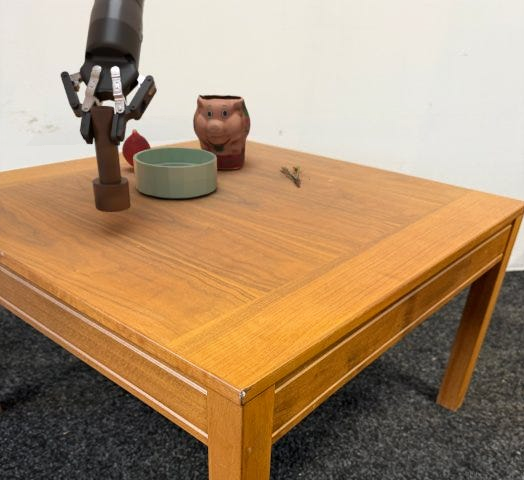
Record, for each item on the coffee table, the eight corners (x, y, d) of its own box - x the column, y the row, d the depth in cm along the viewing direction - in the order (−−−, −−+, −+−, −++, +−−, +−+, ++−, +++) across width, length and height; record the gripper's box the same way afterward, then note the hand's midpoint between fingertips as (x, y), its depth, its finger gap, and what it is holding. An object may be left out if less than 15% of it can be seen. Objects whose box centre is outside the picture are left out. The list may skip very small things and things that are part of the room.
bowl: (133, 201, 97) (130, 167, 94) (138, 177, 110) (136, 146, 107) (219, 200, 99) (219, 167, 96) (214, 177, 112) (214, 147, 109)
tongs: (293, 187, 108) (293, 177, 107) (279, 173, 119) (279, 163, 118) (313, 187, 109) (314, 177, 108) (298, 172, 120) (298, 163, 119)
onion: (158, 169, 116) (155, 129, 111) (136, 174, 112) (132, 133, 108) (140, 164, 119) (137, 125, 115) (118, 169, 115) (114, 128, 111)
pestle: (93, 212, 81) (80, 110, 73) (97, 201, 85) (85, 104, 78) (129, 212, 82) (119, 111, 74) (131, 201, 86) (122, 104, 78)
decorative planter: (197, 152, 130) (195, 87, 122) (248, 153, 131) (249, 89, 123) (192, 175, 113) (189, 101, 106) (251, 176, 114) (252, 103, 106)
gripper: (57, 13, 76) (40, 122, 73) (158, 17, 76) (146, 127, 73) (75, 53, 84) (61, 154, 80) (167, 57, 84) (157, 159, 80)
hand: (101, 141), depth 76 cm, fingers closed on pestle, 3 cm apart
